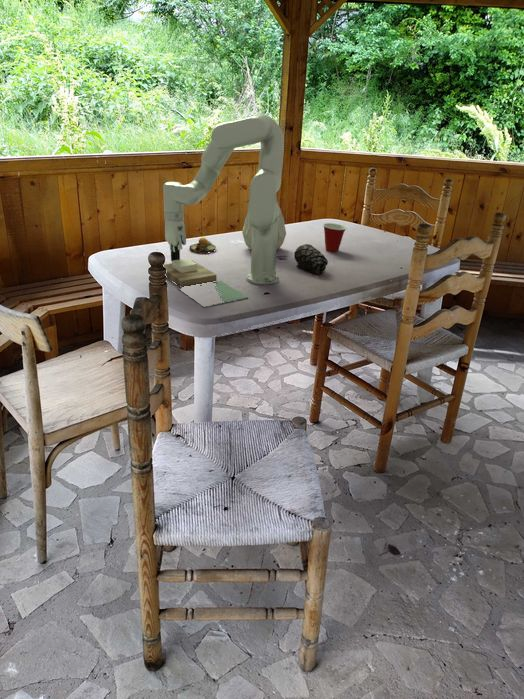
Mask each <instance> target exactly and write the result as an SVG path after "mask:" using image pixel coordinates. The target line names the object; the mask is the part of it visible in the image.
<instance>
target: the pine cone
mask: <svg viewBox="0 0 524 699" xmlns="http://www.w3.org/2000/svg"><path fill="white" fill-rule="evenodd" d="M293 254H294V255H293V256H294V260H295V261H296V263H297V264H296V265H295V267H296V268H297V269H299V270H301V271H303V272H305V273H308V274H310V275H312V276H315V277H316V276H317V277H321V276H323V275H324V271H326V268H327V266H328V263H329V261H328V259H327V257H325V255H324V254H323V253H322V252H321V251H320V250H318V249H317V248H316V247H314V246H313V245H312V244H308V243H305V244H302V245H300V246H298V247H297V248H296V250H295V251H294V253H293Z"/></svg>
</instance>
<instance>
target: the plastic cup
mask: <svg viewBox="0 0 524 699" xmlns="http://www.w3.org/2000/svg"><path fill="white" fill-rule="evenodd" d="M322 225H323V230H324V231H323V233H324V244H325V251H326V252H327V253H331V254H332V253H333V254H334V253H338V252H339V250H340V246H341V243H342V240H343V236H344V234H345V231H346V230H347V229H348V228H347V227H346V226H345V225H342V224H339V223H331V222H330V223H329V222H327V223H323V224H322Z"/></svg>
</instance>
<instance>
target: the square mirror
mask: <svg viewBox="0 0 524 699" xmlns="http://www.w3.org/2000/svg"><path fill="white" fill-rule="evenodd" d="M213 283H216V286H215V289H216V291H217V290H218V291H217V292H219V293H221V294H222V295H221V294H219V293H218V294H219V296H220V295H221V296H220V299H221V298H222V301H224V302H228V301H234V300H238V301H242V300H241V299H243V300H246V298H248V299H249V297H248V296H247V295H245V294H243V293H241V292H240V291H238V290H237V289H236V288H233V287H232V286H230V285H228V284H227V283H225V282H224V281H223V280H221V281H220V280H218V281H216V282H213ZM200 286H202V285H200ZM216 287H217V288H216ZM234 302H235V301H234ZM222 303H223V302H222Z"/></svg>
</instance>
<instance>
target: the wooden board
mask: <svg viewBox="0 0 524 699" xmlns="http://www.w3.org/2000/svg"><path fill="white" fill-rule="evenodd" d="M190 260H191V261H193V262H195V263H196V264H197V270H195V271H189V272H184V273H181V272H179V271H177V270H176V269H174V268H173V267H172V262H170V263H165V264H163V265H164V267H165V268H166V270H167V273H166V276H167V278H168V279H170V280H171V281H173V282H175V283H176V284H177V285H179V286H181V287H184V286H191V285H196V284H202V283H207V282H213V281H216V282H217V274H216V273H215V272H213V271H212V270H210V269H208V268H206V267H205V266H203V265H201V264H200V263H197V262H196V261H195V260H193V259H190ZM167 278H166V279H167ZM168 279H167V280H168ZM170 280H169V281H170ZM171 281H170V282H171ZM173 282H172V283H173ZM176 284H175V285H176ZM177 285H176V286H177Z"/></svg>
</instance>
